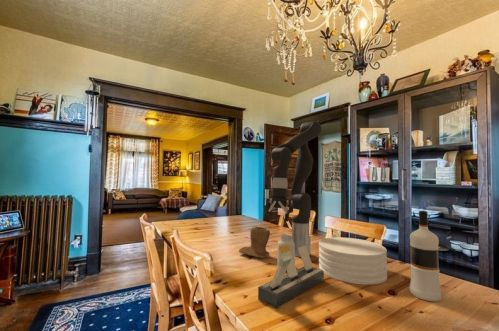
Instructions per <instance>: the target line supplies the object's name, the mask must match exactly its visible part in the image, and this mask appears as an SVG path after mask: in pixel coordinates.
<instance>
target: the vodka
mask: <svg viewBox="0 0 499 331" xmlns="http://www.w3.org/2000/svg"><path fill="white" fill-rule="evenodd" d="M428 216H429V215H428V211H426V210H419V211H418V228H417V229H416V230H414V231H412V232H411V233H410V235H409V242H410V243H409V245H410V265H409V266H410V273H411V274H410V283H409V287H408V288H409V292H410V294H412V296H414V297H416V298H417V299H420V300H423V301H427V302H434V303H435V302H440V301H441V300H442V299H443V293H442V290H441V284H440V269H439V266H440V265H439V249H440V247H439V242H440V240H439V237H438V236H437V234H435V233H433V231H430V230H429V227H428V226H429V218H428Z"/></svg>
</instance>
